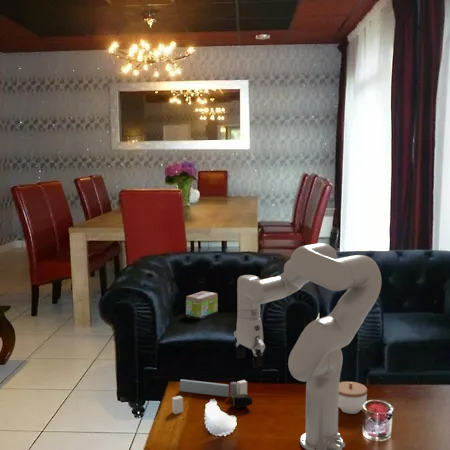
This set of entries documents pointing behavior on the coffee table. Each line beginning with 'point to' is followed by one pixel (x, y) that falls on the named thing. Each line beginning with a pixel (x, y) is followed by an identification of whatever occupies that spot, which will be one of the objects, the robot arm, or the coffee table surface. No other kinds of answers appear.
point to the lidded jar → (351, 397)
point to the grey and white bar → (234, 389)
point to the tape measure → (240, 400)
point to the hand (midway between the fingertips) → (248, 362)
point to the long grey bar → (204, 387)
